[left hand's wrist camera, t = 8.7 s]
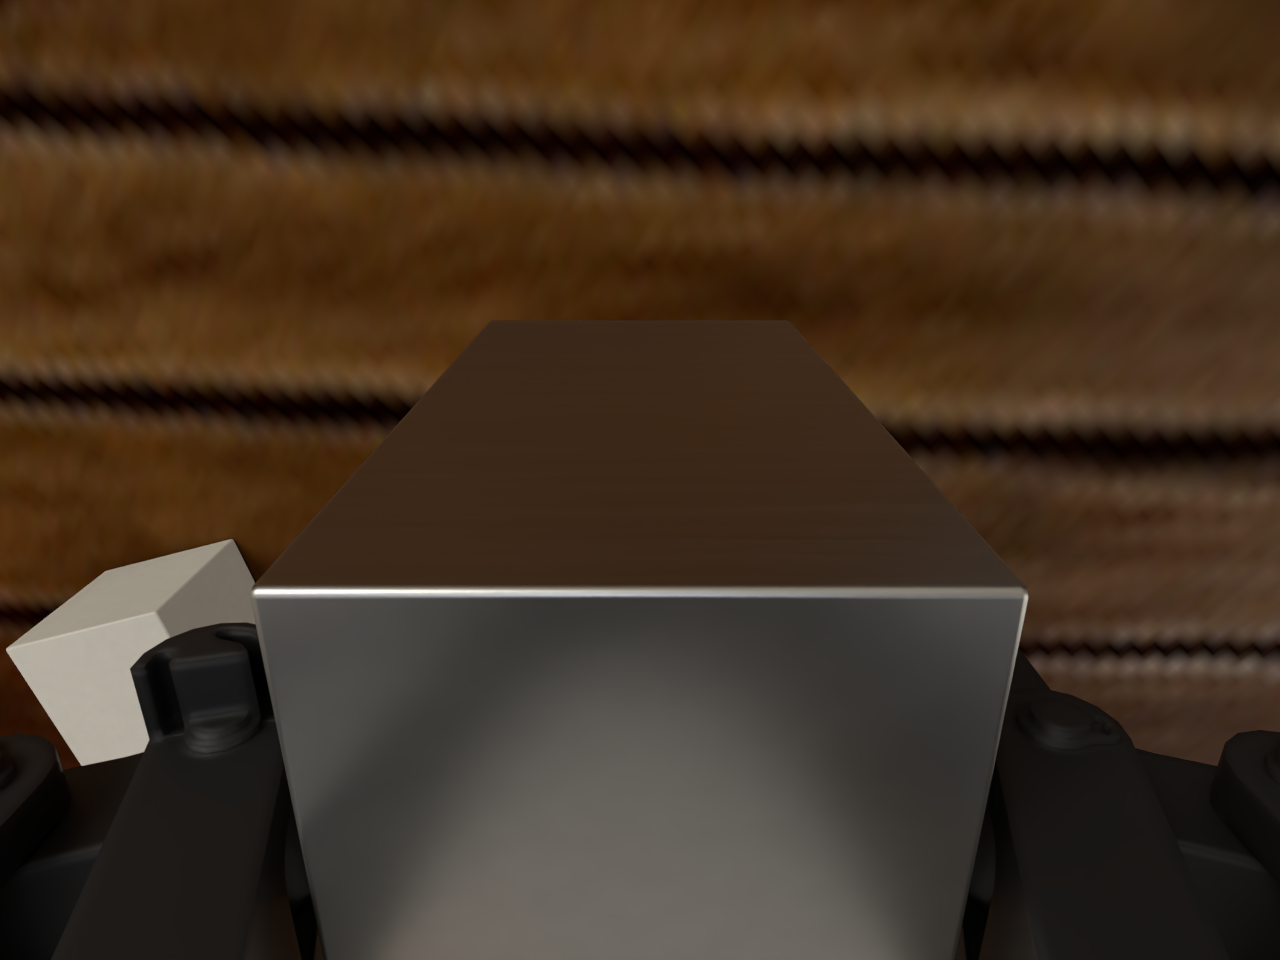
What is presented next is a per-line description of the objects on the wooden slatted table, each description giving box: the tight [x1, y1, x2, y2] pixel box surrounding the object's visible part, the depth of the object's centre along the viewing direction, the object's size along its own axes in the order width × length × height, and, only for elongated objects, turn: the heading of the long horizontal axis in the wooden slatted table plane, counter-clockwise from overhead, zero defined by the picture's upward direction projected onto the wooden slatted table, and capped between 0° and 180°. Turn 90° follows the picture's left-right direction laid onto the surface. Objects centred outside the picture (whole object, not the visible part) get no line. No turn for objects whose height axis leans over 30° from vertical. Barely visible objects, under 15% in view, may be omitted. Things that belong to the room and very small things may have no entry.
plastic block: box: [6, 539, 256, 766], centre depth 27 cm, size 5×5×5 cm
